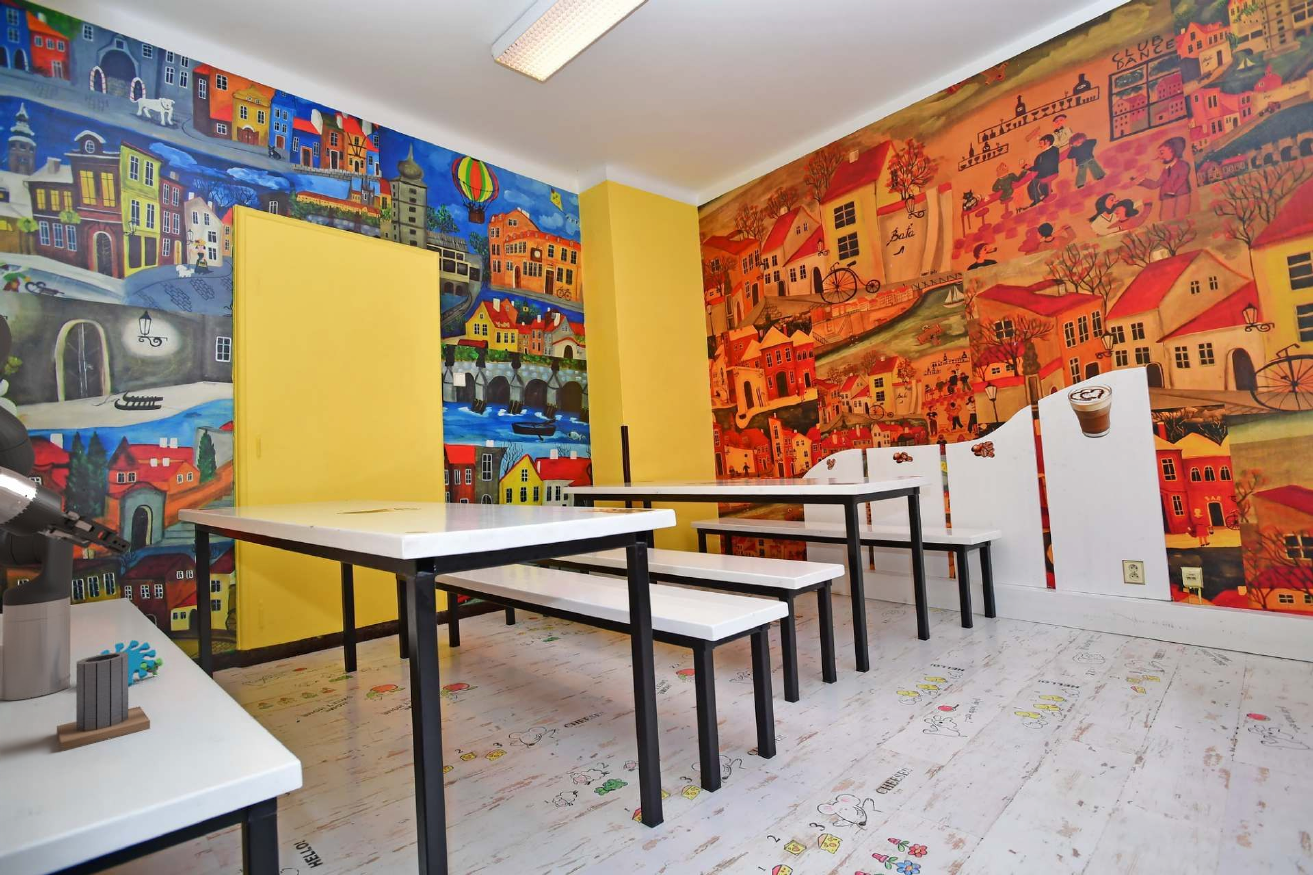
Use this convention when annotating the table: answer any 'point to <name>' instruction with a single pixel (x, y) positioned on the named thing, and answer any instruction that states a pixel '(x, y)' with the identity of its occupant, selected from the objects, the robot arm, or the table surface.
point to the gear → (138, 660)
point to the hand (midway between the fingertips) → (108, 546)
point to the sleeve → (101, 691)
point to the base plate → (101, 730)
